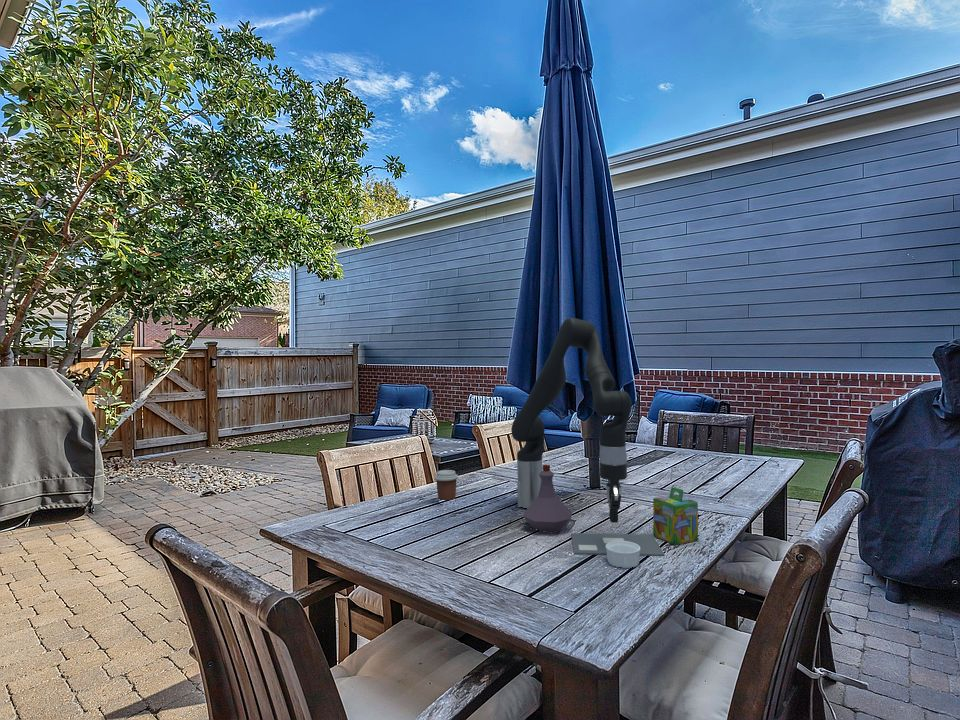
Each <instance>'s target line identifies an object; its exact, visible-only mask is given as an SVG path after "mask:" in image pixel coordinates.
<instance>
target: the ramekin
mask: <svg viewBox="0 0 960 720" xmlns="http://www.w3.org/2000/svg"><path fill="white" fill-rule="evenodd" d="M605 547H606V550H607V555H606V556H607V562H608V564H610V565H611V566H613V567H615V566H616V568H619V567H622V568H621V569H633V568H635V567H638V566H639V564H640V555H639V554H640V546H639V545H638V544H636V543H633V542H629V541H612V542H609V543H607V544H606V546H605ZM632 567H633V568H632Z"/></svg>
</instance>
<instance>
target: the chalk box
mask: <svg viewBox="0 0 960 720" xmlns="http://www.w3.org/2000/svg"><path fill="white" fill-rule="evenodd" d="M676 492H677V493H678V495H676V494H674V493H676ZM652 499H653V500H652V501H653V502H652V503H653V507H652V508H653V509H652V514H653V515H652V517H653V519H652V520H653V525H652V528H653V529H652V532H653V533H652V535H653V537H655V538H658V539H661V540H663V541H665V542H667V543H670V544H671V545H673V546H677V545H678V546H679V545H683V544H687V543H692V542H698V541H699V509H698V508H699V504H698V501H696V500H693V499H691V498H687V497H684V489H681V488H679V487H674V486H671V488H670V492H669V495H667V496H666V495H665V496H659V497H653V498H652ZM697 540H698V541H697Z"/></svg>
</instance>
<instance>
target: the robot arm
mask: <svg viewBox="0 0 960 720" xmlns="http://www.w3.org/2000/svg"><path fill="white" fill-rule="evenodd" d="M598 334H599V333H598V332H597V329H596V326H595V325H594V324H593V323H592V322H590V321H588V320H583V319H579V318H576V317H567V318H566V319H565V320H564V321H563V322H562V323H561V325H560V327H559V330H558V332H557V335H556V338H555V339H554V343H553V344H552V345H553V346H552V348H551V349H550V353H549V355H548V357H547V359H546V361H545V363H544V365H543V368H541V370H540V373H539V374H538V376H537V379H536V380H535V383H534V385H533V387H532V389H531V392H529V395H528V397H527V399H526V401H525V402H524V404H523V406H522V407H521V408H520V410H519V412H518V414H517V415H516V416H515V418H514V420H513V422H512V424H511V425H512V426H511V429H510V430H511V435H512V438H513V439H514V440H515V441H517V442H518V443H519V442H520V443H525V444H524V445H523V446H522V448H521V449H519V450H518V451H517V453H516V465H517V466H516V468H517V484H516V485H517V508H518V507H523V508H528V507H529V506H530V505H531V504H532V503H533V502H534V501H535V499H536V498H537V497H538V495H539V491H540V486H541V478H540V476H539V473H540V472H542V471H543V454H544V450H545V425H544V421H543V419H542V418H541V417H540V415H541V413H543V412H544V410H546V409H547V408H548V407H549V406H550V405H551V404H553V402H555V400H557V398H558V397H559V396H560V394H561V392H562V390H563V388H564V386H565V384H566V381H567V375H566V367H565V356H566V354H567V351H568V350H569V348H570V347H573V348H577V349H583V350H584V352H585V353H586V355H587V359H586V362H585V365H584V372H585V376H586V377H585V378H586V379H587V382H589V383H588V384H589V386H590V388H591V393H592V404H593V405H592V406H593V410H594V411H595V412H596V414H597V415H598V416H602V417H613V416H614V418H613V420H612V421H610V422H607V423H605V424H603V425H601V426H600V428H599V429H600V430H599V444H600V446H599V454H598V455H599V477H600V478H601V479H603V480H607V482H606V483H605V489H606V499H607V505H608V506H607V507H608V508H609V509H608V510H609V522H610V523H611V524H612V523H613V524H614V523H615V524H616V523H619V510H620V509H621V500H622V494H621V492H622V485H621V483H620V481H623V480H626V479H627V478H628V458H627V456H628V455H627V454H628V453H627V448H626V447H627V443H626V440H627V439H626V432H627V427H628V422H629V418H630V415H631V411H632V405H633V403H632V398H631V395H630V394H629V393H628V391H624V390H613V389H614V388H615V386H616V380H615V379H614V377H613V374H612V372H611V370H610V368H609V366H608V365H607V362H606V360H605V356H604V353H603V349H602V346H601V341H600V339H599V335H598ZM523 508H522V509H523Z"/></svg>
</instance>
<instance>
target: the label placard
mask: <svg viewBox="0 0 960 720" xmlns="http://www.w3.org/2000/svg"><path fill="white" fill-rule="evenodd" d="M570 535H571V542H572V548H573V553H574V555H595V556H596V555H601V556H602V555H604V556H605V555H606V556H607V550H606V547H605V546H606V544H607V543H609V542H612V541H629V542H633V543H636V544H638V545H639V546H640V554H639V556H642V557H643V556H646V557H647V556H652V557H656V556H657V557H665V555H666V554H665V553H664V552H663V550H662V548H661V547H660V545H659V543H658V542H657V539H656V538H655V536H653V533H652V534H651V533H650V534H649V533H648V534H646V533H597V532H596V533H593V532H591V533H587V532H586V533H584V532H580V533H579V532H571V533H570Z"/></svg>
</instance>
